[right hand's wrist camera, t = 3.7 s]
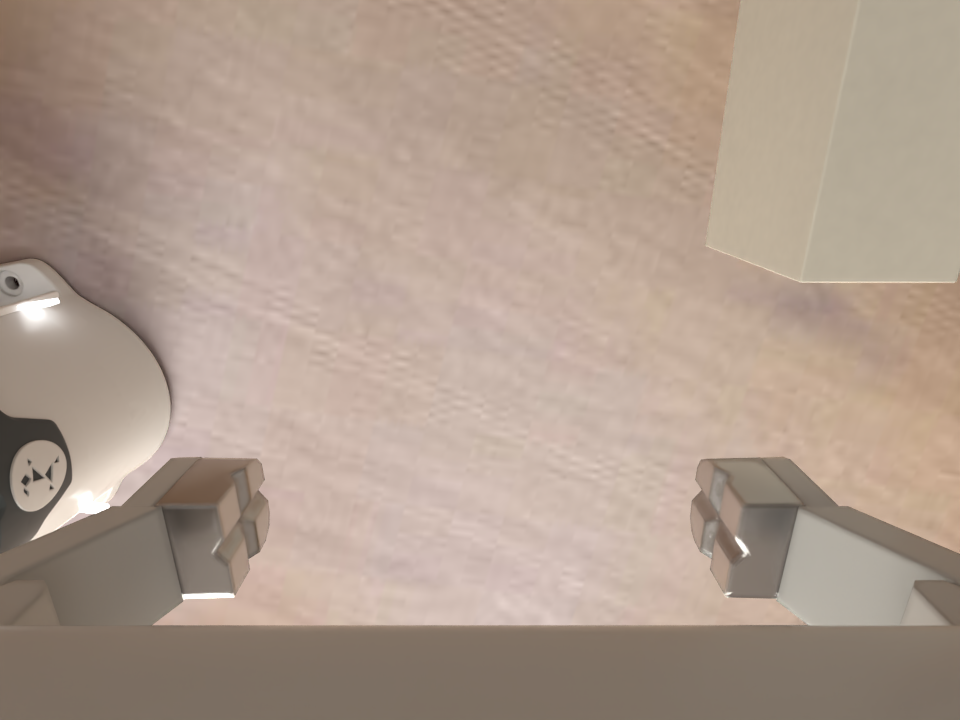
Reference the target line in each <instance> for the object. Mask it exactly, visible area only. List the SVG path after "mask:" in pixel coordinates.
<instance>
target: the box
mask: <svg viewBox="0 0 960 720" xmlns="http://www.w3.org/2000/svg"><path fill="white" fill-rule="evenodd" d="M705 246H707V247H710V248H712V249H715V250H717V251H720V252H723V253H725V254H728V255H730V256H733V257H736V258H738V259H741V260H743V261H746V262H749V263H751V264H754V265H756V266H759V267H762V268H764V269H767V270H769V271H772V272H775V273H777V274H780V275H782V276H785V277H788V278H790V279H793V280H795V281H798V282H801V283H954V282H956V281H957V279H958V276H959V272H960V0H741V1H740V8H739V15H738V22H737V29H736V36H735V42H734V49H733V56H732V63H731V70H730V77H729V84H728V91H727V98H726V105H725V112H724V119H723V125H722V132H721V139H720V146H719V153H718V160H717V167H716V174H715V181H714V188H713V195H712V202H711V208H710V215H709V222H708V229H707V236H706V243H705Z"/></svg>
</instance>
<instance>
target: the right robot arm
mask: <svg viewBox="0 0 960 720" xmlns="http://www.w3.org/2000/svg"><path fill="white" fill-rule="evenodd" d="M14 278H16V279H17V281H18V282H19V286H18V285H16V283H15V282H14ZM170 416H171V403H170V395H169V390H168V386H167V383H166V380H165V377H164V375H163V372H162V370H161V368H160V366H159V364H158V362H157V361H156V359H155V357H154V356H153V354H152V353H151V351H150V350H149V349H148V347H147V346H146V345H145V344H144V342H143V341H142V340H141V339H140V338H139V337H138V336H137V335H136V334H135V333H134V332H133V331H132V330H131V329H130V328H129V327H128V326H126V325H125V324H124V323H123V322H121V321H120V320H119V319H117V318H116V317H114V316H113V315H111V314H110V313H108V312H107V311H105V310H103V309H101V308H99V307H98V306H96V305H94V304H92V303H90V302H89V301H87V300H85V299H84V298H82V297H81V296H79V295H78V294H77V293H76V292H75V291H74V290H73V289H72V288H71V287H70V286H69V285H68V284H67V282H66V281H65V280H64V279H63V278H62V277H61V276H60V275H59V274H58V273H57V272H56V271H55V270H54V269H53V268H51V267H50V266H49V265H48V264H46V263H45V262H43V261H41V260H38V259H24V260H19V261H14V262H9V263H4V264H0V720H960V554H959V553H956V552H954V551H952V550H949V549H947V548H944V547H942V546H940V545H937V544H935V543H933V542H930V541H928V540H926V539H923V538H921V537H919V536H916V535H914V534H912V533H909V532H907V531H905V530H902V529H900V528H898V527H895V526H893V525H891V524H888V523H886V522H883V521H881V520H879V519H876V518H874V517H872V516H869V515H867V514H865V513H862V512H860V511H858V510H855V509H853V508H851V507H848V506H838V505H837V504H836V503H835V502H834V501H833V500H832V499H831V498H830V497H829V496H828V495H827V494H826V493H825V492H824V491H823V490H821V489H820V488H819V487H818V486H817V485H816V484H815V483H814V482H813V481H812V480H811V479H810V478H809V477H808V476H807V475H806V474H805V473H804V472H803V471H802V470H801V469H800V468H799V467H798V466H796V465H795V464H794V463H793V462H792V461H791V460H790V459H788V458H785V457H767V458H724V459H703V460H701V461H700V463H699V465H698V467H697V472H696V478H695V480H696V482H697V483H698V485H699V486H700V488H701V489H702V491H701V492H700V493H699V494H698V495H697V496H696V497H695V498H694V499H693V500H692V504H691V513H690V520H691V531H692V534H693V537H694V541H695V543H696V545H697V547H698V549H699V550H700V552H701V553H703V554H704V555H706V556H708V557H709V558H711V559H712V560H711V566H710V570H711V572H712V574H713V575H714V577H715V579H716V581H717V582H718V584H719V586H720V588H721V589H722V591H723V593H724V595H725V596H726V597H736V598H773V599H777V602H779V603H780V604H781V605H783V606H784V607H785V608H787V609H788V610H789V611H790V612H792V613H793V614H794V615H796V616H797V617H798V618H800V619H801V620H802V621H803V622H805V623H806V624H807V625H153V624H154V623H155V622H157V621H158V620H159V619H161V618H162V617H163V616H165V615H166V614H167V613H168V612H170V611H171V610H172V609H174V608H175V607H176V606H178V605H179V604H180V603H182V602H183V599H187V598H222V597H235V595H236V593H237V591H238V590H239V588H240V586H241V584H242V583H243V581H244V579H245V577H246V575H247V574H248V572H249V570H250V566H249V560H248V559H249V558H251V557H252V556H254V555H256V554H257V553H259V552H260V550H261V549H262V547H263V545H264V543H265V541H266V537H267V533H268V529H269V522H270V511H269V504H268V500H267V499H266V498H265V497H264V496H263V495H262V494H261V493H260V492H259V491H258V489H259V488H260V486H261V485H262V483H263V482H264V480H265V478H264V473H263V468H262V464H261V463H260V461H259V460H258V459H255V458H202V457H180V458H172V459H170V460H169V461H168V462H167V463H166V464H165V465H164V466H163V467H162V468H161V469H160V470H158V471H157V472H156V473H155V474H154V475H153V476H152V477H151V478H150V479H149V480H148V481H147V482H146V483H145V484H144V485H143V486H142V487H141V488H140V489H139V490H138V491H137V492H135V493H134V494H133V495H132V496H131V497H130V498H129V499H128V500H127V501H126V502H125V503H124V504H123V505H122V506H112V507H109V504H106V503H107V502H109V501H110V500H111V499H112V498H113V497H114V495H115V494H116V492H117V490H118V488H119V487H120V485H121V482H122V480H123V478H125V477H126V476H127V475H128V474H129V473H130V472H132V471H133V470H135V469H136V468H138V467H139V466H141V465H142V464H144V463H145V462H146V461H148V460H149V459H150V458H151V457H152V456H153V455H154V454H155V453H156V451H157V450H158V449H159V447H160V446H161V444H162V442H163V441H164V438H165V436H166V434H167V431H168V427H169V423H170ZM79 512H84V513H92V514H93V515H91V516H88V517H86V518H83V519H81V520H79V521H76V522H74V523H72V524H69V525H67V526H65V527H62V528H60V529H58V528H59V527H60V526H62V525H63V524H65V523H66V522H67V521H69V520H70V519H71V518H73V517H74V516H75V515H77V514H78V513H79ZM56 529H58V530H56Z"/></svg>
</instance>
